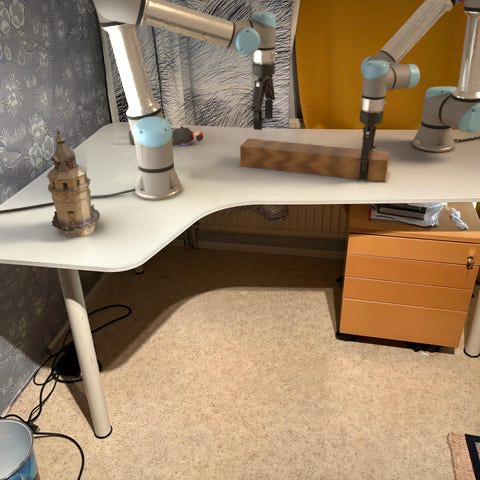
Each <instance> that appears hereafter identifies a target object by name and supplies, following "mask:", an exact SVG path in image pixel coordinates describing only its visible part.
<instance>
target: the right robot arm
mask: <svg viewBox="0 0 480 480" xmlns="http://www.w3.org/2000/svg"><path fill="white" fill-rule="evenodd" d="M460 3H464V7H463V12H464V13H465V15H466V16H467V20H466V27H465V32H464V40H463V47H462V54H461V60H460V61H461V62H460V68H459V74H458V82H457V86H450V85H449V86H448V85H447V86H445V85H444V86H442V85H441V86H432V87H429V88H427V90H426V91H425V96H424V98H423V106H422V113H421V121H420V126H419V128H418V130H417V132H416V134H415V135H414V138H413V142H412V146H413V147H414V148H415V149H418V150H420V151H422V152H423V151H424V152H429V153H447V152H451V151H453V149H454V147H455V142H468V141H472V140H477V139H480V135H478V136H479V137H477V136H473V137H474V138H472V137H468V138H454V133H453V129H456V130H457V131H459V132H463V133H467V134H475V133H478V132H480V0H424V2H423V3H422V4H421V5H420V6H419V7H418V8H417V9H416V10H415V12H413V14H412V15H411V16H410V17H409V18H408V19H407V20H406V21H405V23H404V24H403V25H402V26H401V27H400V28H399V29H398V30H397V31H396V32H395V33H394V35H392V37H391V38H390V39H389V40H388V41H387V43H385V45H384V46H383V47H382V48H381V49H380V50H379V51H378V52H377V54H376V55H370V56H367V57H365V58H364V59H363V60H362V61H361V65H360V72H361V74H362V88H361V89H362V90H361V97H360V107H359V108H360V110H359V120H358V121H359V122H360V123H361V124H365V125H364V126H363V128H362V129H363V130H362V133H363V134H362V145H361V149H362V152H361V159H359V161H361V163H360V172H359V179H358V180H361V179H366V180H365V181H368V180H367V176H368V167H369V154H370V150H372V151H374V150H376V146H375V138H376V132H377V126H376V125H380V124H382V123H383V120H384V109H385V105H386V104H387V103H388V102H387V100H386V96H387V92H388V91H396V90H404V89H407V90H408V89H410V88H414V87H416V86H417V85H418V84H419V81H420V77H421V72H420V68H419V67H418V65H416V64H414V63H405V64H401V63H399V62H400V61H402V60H403V58H404V57H405V56H406V55H407V54H408V53H409V52H410V51H411V50H412V49H413V47H415V45H416V44H417V43H418V42H419V41H420V40H421V39H422V37H424V36H425V34H427V32H428V31H429V30H431V28H432V27H433V26H434V25H435V24H436V22H438V20H439V19H440V18H441V17H442V16H443V15H444V14H445V13H446V12H450V11H452V9H454V7H455V6H457V5H458V4H460ZM461 139H463V140H461ZM457 140H458V141H457ZM363 157H364V158H363Z"/></svg>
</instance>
